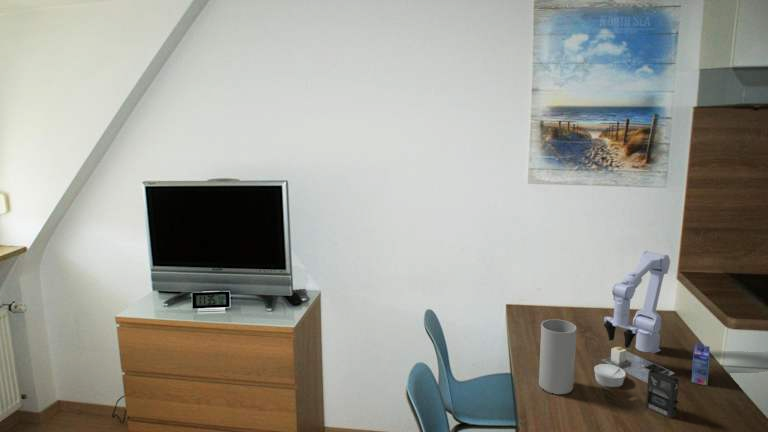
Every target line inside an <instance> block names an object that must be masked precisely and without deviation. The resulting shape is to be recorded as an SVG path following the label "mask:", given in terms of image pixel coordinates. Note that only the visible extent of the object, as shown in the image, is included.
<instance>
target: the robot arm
mask: <svg viewBox="0 0 768 432" xmlns="http://www.w3.org/2000/svg"><path fill="white" fill-rule="evenodd" d="M670 264H671V259H670V256H669V255H668V254H662V253H657V252H653V251H649V250H645V251H643V252H642V253H641V256H640V263H639V264H638V265H637V267H636V268H635V269H634V271H631V272H628V274H627V275H626V276H625V277H624V278H623V279H622V280H621V282H617V283H615V284H614V285H613V287H612V291H611V292H612V296H613V297H612V298H613V299H612V300H613V301H614V305H613V317H612V316H608V315H607V316H604V321H603V322H605V323H604V324H603V326H604V328H605V330H606V332H607V336H608V341H614V340H615V333H616V329H617V327H619V328H621V329H623V330H626V331H624V332H623V336H624V348H626V349H627V348H630V347H631V344H632V341H633V339H634V338H635V337H636V339H635V349H636V350H638V351H640V352H644V353H651V354H657V353H659V352H661V350H662V349H660V339H661V335H660V334H659V333H660V331H661V328H662V316H661V315H660V314H659V313H658V312H657V307H658V302H659V297H660V294H661V289H662V284H663V280H664V276H665V275H666V274H668V273H669V269H670ZM648 272H649V273H650V275H649V280H648V284H647V289H646V293H645V297H644V301H643V307H642V308H641V309H638V310H637V311H636V312H635V315H634V317H633V319H632V324H631V323H630V322H629V321H630V309H631V300H632V299H633V297H634V295H635V292H636V289H637V288H638V287H639V286H640V285H641V283H642V281H643V277H644V276H645V275H646V274H647V273H648Z"/></svg>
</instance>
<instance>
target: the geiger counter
mask: <svg viewBox="0 0 768 432" xmlns="http://www.w3.org/2000/svg"><path fill="white" fill-rule="evenodd" d="M646 384H647V386H646V387H647V388H646V398H645V408H646V409H649V410H651V411H653V412H655V413H657V414H659V415H661V416H664V417H665V418H669V419H674V417H676V416H677V412H678V410H679V408H677V406H678V405H679V401H678V394H679V384H680V378H679V377H678V375H675V376H671V375H670V376H669V375H666V374H663V373H661V372H658V371H656V370H655V369H654V367H652V368H651V370H650V371H649V373H648V383H646Z"/></svg>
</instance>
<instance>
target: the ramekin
mask: <svg viewBox="0 0 768 432" xmlns="http://www.w3.org/2000/svg"><path fill="white" fill-rule="evenodd" d="M593 368H594V369H593V371H594V376H595V377H594V378H595V381H596V382H597V384H598V385H600V386H601V387H602V388H603V387H604V388H606V389H608V388H609V387H610V388H618V387H621V386H623V384H624V381H625V378H626V375H627V374H626V372H625V371H624V370H623V369H621V368H620V367H617V366H615V365H611V364H608V363H600V364H597V365H595V366H594V367H593Z"/></svg>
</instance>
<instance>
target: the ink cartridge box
mask: <svg viewBox="0 0 768 432" xmlns="http://www.w3.org/2000/svg"><path fill="white" fill-rule="evenodd" d="M710 351H711V350H710V346H709V345H704V344H703V345H702V344H700V342H699V341H697V343H695V344H694V347H693V355H692V356H693V357H692V367H691V368H692V369H691V383H695V384H699V385H703V386H708V380H709V367H710V366H709V364H710Z"/></svg>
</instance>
